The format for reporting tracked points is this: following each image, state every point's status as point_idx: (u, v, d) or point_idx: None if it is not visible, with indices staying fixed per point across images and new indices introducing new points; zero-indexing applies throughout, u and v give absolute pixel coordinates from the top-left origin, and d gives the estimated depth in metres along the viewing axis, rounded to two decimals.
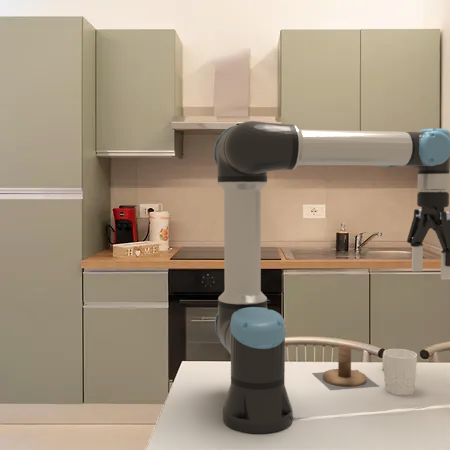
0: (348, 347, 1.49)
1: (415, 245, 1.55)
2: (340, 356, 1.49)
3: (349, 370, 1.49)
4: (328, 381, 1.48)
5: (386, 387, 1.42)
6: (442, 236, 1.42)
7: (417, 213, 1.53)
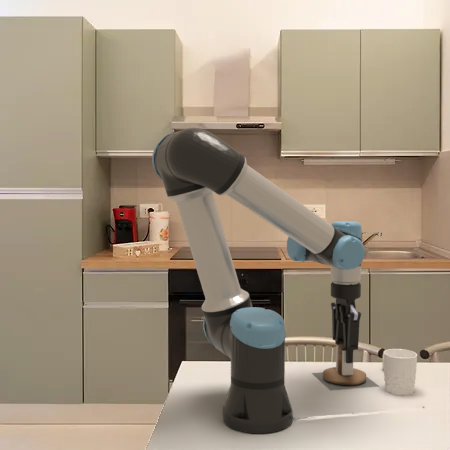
0: None
1: None
2: (340, 354, 1.49)
3: None
4: (328, 379, 1.48)
5: (386, 387, 1.42)
6: (346, 333, 1.47)
7: (334, 305, 1.54)
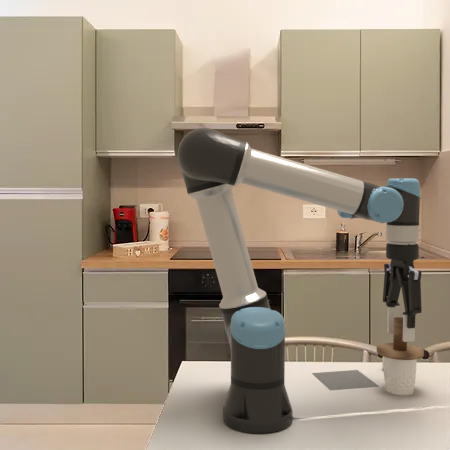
0: None
1: (391, 305, 1.45)
2: (396, 328, 1.41)
3: (405, 343, 1.41)
4: (384, 354, 1.39)
5: (386, 387, 1.42)
6: (407, 296, 1.37)
7: (387, 267, 1.46)
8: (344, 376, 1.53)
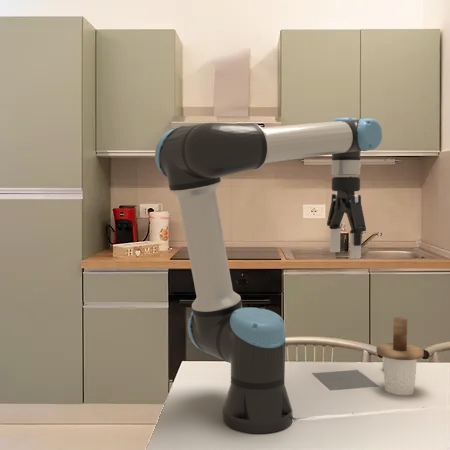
0: (404, 319, 1.41)
1: (333, 228, 1.65)
2: (396, 328, 1.41)
3: (405, 343, 1.41)
4: (384, 354, 1.39)
5: (386, 387, 1.42)
6: (351, 218, 1.52)
7: (334, 197, 1.63)
8: (344, 376, 1.53)
